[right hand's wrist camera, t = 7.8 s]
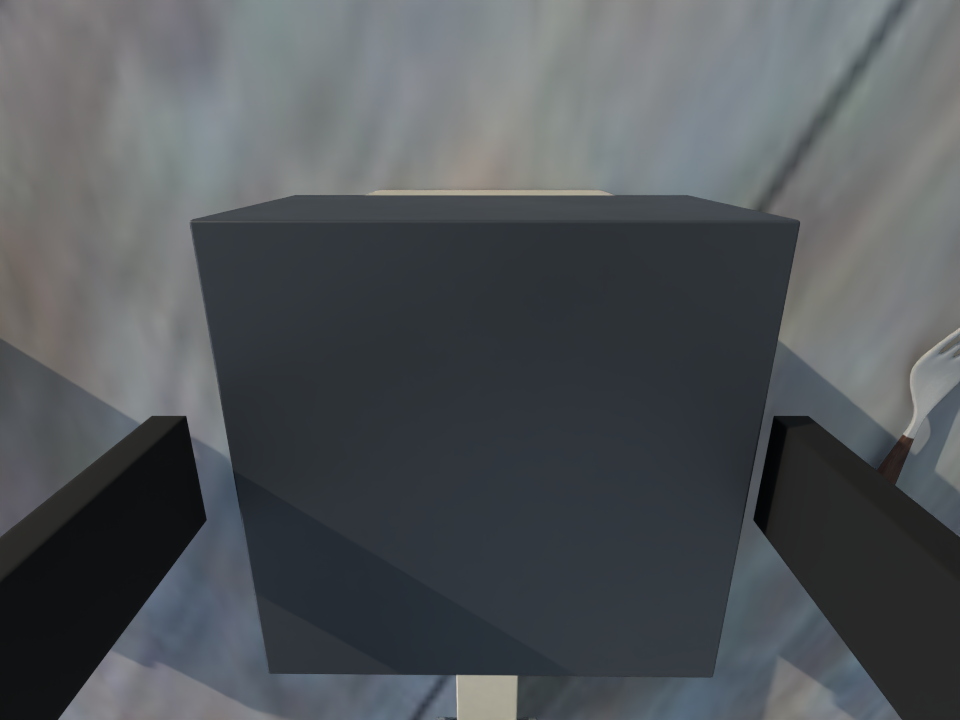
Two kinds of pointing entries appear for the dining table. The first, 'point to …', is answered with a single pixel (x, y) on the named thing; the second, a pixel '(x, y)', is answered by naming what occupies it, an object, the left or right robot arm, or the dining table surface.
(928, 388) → the fork
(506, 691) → the cream block
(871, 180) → the dining table surface
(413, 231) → the dark gray block
